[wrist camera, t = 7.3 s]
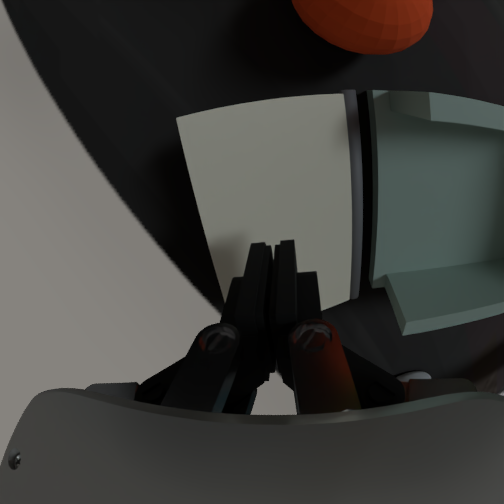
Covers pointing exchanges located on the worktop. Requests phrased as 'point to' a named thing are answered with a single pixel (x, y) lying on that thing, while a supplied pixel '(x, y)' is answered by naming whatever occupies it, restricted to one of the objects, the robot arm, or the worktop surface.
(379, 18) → the clementine
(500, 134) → the grey-green open bin
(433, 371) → the worktop surface
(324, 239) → the panel
